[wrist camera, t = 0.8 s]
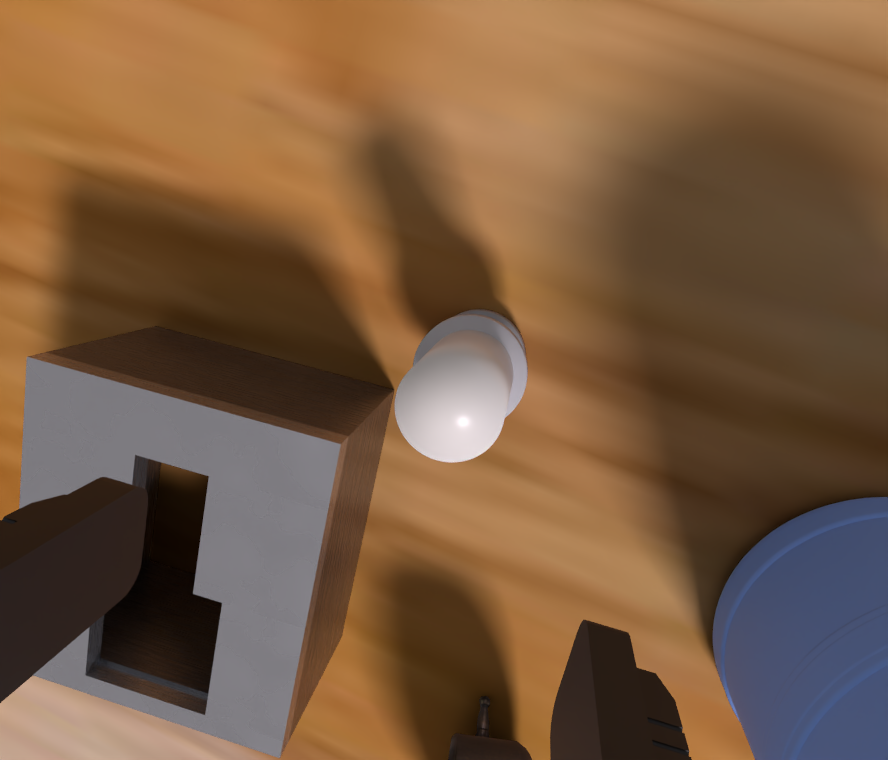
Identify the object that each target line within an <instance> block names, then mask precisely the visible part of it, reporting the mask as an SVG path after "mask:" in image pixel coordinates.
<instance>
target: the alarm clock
mask: <svg viewBox="0 0 888 760" xmlns="http://www.w3.org/2000/svg"><path fill="white" fill-rule="evenodd" d="M479 701H480V706H481V707H480V712H479V715H478V720H477V733H476V735H475V736H472V735H464V734H459V733H455V734H454V735H453V736H452V739H451V744H450V751H449V759H448V760H532V759H531V756H530V754H529V753H528V751H527V750H526V748H524V747H523V746H522V745H521V744H520V743H518V742H517V741H511V740H504V739H496V738H489V716H488V707H489V705H490V699H489V698H488V697H487V696H482V697H481V698H480V699H479Z"/></svg>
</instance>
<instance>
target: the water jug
mask: <svg viewBox="0 0 888 760" xmlns="http://www.w3.org/2000/svg"><path fill="white" fill-rule="evenodd" d="M713 651H714V658H715V663H716V667H717V671H718V674H719V677H720V680H721V682H722V685H723V687H724V690H725V692H726V695H727V698H728V700H729V702H730V705H731V707H732V709H733V711H734V713H735V714H736V716H737V718H738V719H739V721H740V722H741V725H742V727H743V730H744V732H745V735H746V737H747V740H748V742H749V745H750V747H751V750H752V752H753V755H754V758H755V760H888V497H870V498H860V499H853V500H847V501H842V502H838V503H834V504H830V505H826V506H823V507H820V508H817V509H814V510H812V511H809V512H807V513H804V514H802V515H800V516H798V517H796V518H794V519H792V520H790V521H788V522H786V523H784V524H783V525H781V526H779V527H778V528H776V529H775V530H773V531H772V532H771V533H769V534H768V535H767V536H765V537H764V538H763V539H762V540H760V541H759V542H758V543H757V544H756V545H755V546H754V547H753V548H752V549H751V550H750V551H749V552H748V553H747V554H746V555H745V556H744V557H743V558H742V560H741V561H740V562H739V563H738V565H737V566H736V568H735V569H734V571H733V572H732V574H731V575H730V577H729V579H728V580H727V582H726V584H725V586H724V588H723V591H722V593H721V596H720V598H719V601H718V604H717V608H716V612H715V617H714V624H713Z"/></svg>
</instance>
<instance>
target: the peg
mask: <svg viewBox="0 0 888 760" xmlns="http://www.w3.org/2000/svg"><path fill="white" fill-rule="evenodd" d="M527 373H528V367H527V359H526V350H525V344H524V341H523V338H522V336H521V334H520V332H519V331H518V329H517V328H516V326H515V325H514V324H513V323H512V322H511V321H510V320H509V319H507V318H506V317H504V316H503V315H501V314H499V313H497V312H494V311H491V310H486V309H472V310H468V311H464V312H462V313H459V314H457V315H455V316H454V317H451V318H448V319H446V320H444V321H443V322H441V323H440V324H438V325H437V326H435V327H434V328H433V329H432V330H431V331H430V332H429V333H428V334H427V335H426V336H425V337H424V338H423V340H422V341H421V343H420V345H419V347H418V349H417V351H416V354H415V357H414V363H413V367H412V368H411V369H410V370H409V371H408V373H407V374H406V375H405V376H404V378H403V379H402V381H401V383H400V385H399V387H398V390H397V393H396V398H395V415H396V420H397V423H398V426H399V428H400V430H401V432H402V434H403V436H404V437H405V439H406V440H407V441H408V442H409V443H410V445H411V446H412V447H414V448H415V449H416V450H417V451H419V452H420V453H422V454H423V455H425V456H427V457H429V458H432V459H435V460H438V461H443V462H462V461H466V460H470V459H472V458H475V457H477V456H479V455H480V454H482V453H484V452H485V451H486V450H487V449H488V448H490V446H491V445H492V444H493V443H494V442H495V440H496V439H497V438H498V436H499V434H500V432H501V429H502V426H503V423H504V419H505V417H506V416H508V415H509V414H510V413H511V412H512V411H513V410H514V409H515V408H516V406H517V405H518V403H519V402H520V400H521V398H522V396H523V393H524V390H525V387H526V382H527Z"/></svg>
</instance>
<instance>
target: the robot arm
mask: <svg viewBox="0 0 888 760" xmlns="http://www.w3.org/2000/svg"><path fill="white" fill-rule="evenodd" d="M147 509H148V494H147V492H146V490H145V489H144V488H141V487H138V486H135V485H131V484H128V483H125V482H121V481H118V480H114V479H111V478H108V477H100V478H98V479H96V480H94V481H92V482H90V483H88V484H86V485H85V486H83V487H81V488H79V489H77V490H75V491H73V492H71V493H70V494H68V495H65V494H64V495H60V496H56V497H52V498H48V499H44V500H41V501H37V502H33V503H30V504H28V505H26V506H24V507H22V508H20V509H18V510H16V511H14V512H12V513H10V514H8V515H7V516H5V517H4V518H3V520H2V521H1V520H0V703H1V702H2V701H3V700H4V699H5V698H6V697H8V696H9V695H10V694H11V693H12V692H14V691H15V690H16V689H17V688H18V687H19V686H21V685H22V684H23V683H24V682H25V681H26V680H28V679H29V678H30V677H31V676H32V675H34V674H35V673H36V672H37V671H38V670H39V669H41V668H42V667H43V666H44V665H45V664H46V663H48V662H49V661H50V660H51V659H52V658H54V657H55V656H56V655H57V654H58V653H59V652H61V651H62V650H63V649H64V648H65V647H66V646H68V645H69V644H70V643H71V642H72V641H74V640H75V639H76V638H77V637H78V636H79V635H81V634H82V633H83V632H84V631H85V630H86V629H88V628H89V627H90V626H91V625H92V624H94V623H95V622H96V621H97V620H98V619H99V618H101V617H102V616H103V615H104V614H105V613H106V612H108V611H109V610H110V609H111V608H112V607H114V606H115V605H116V604H117V603H118V602H119V601H121V600H122V599H123V598H124V597H125V596H126V595H127V593H128V592H129V591H130V589H131V588H132V586H133V584H134V582H135V581H136V578H137V576H138V573H139V571H140V567H141V561H142V552H143V544H144V535H145V526H146V517H147ZM682 728H683V727H682V724H681V720H680V717H679V713H678V710H677V706H676V702H675V700H674V698H673V697H672V696H671V694H670V693H669V692H668V690H667V689H666V687H665V686H664V685H663V683H662V682H661V680H660V679H659V678H658V676H657V675H656V673H652V672H649V671H646V670H642V669H639V668H637V667H636V662H635V658H634V653H633V648H632V644H631V639H630V635H629V634H628V633H627V632H625V631H621V630H618V629H614V628H611V627H608V626H604V625H601V624H597V623H594V622H591V621H587V620H583V621H582V623H581V625H580V627H579V629H578V632H577V635H576V638H575V641H574V644H573V647H572V650H571V653H570V656H569V659H568V662H567V665H566V668H565V671H564V675H563V678H562V681H561V684H560V687H559V690H558V693H557V696H556V700H555V704H554V709H553V715H552V722H551V733H550V748H551V760H692V759H691V757H689V749H688V745H687V742H686V738H685V734H684V733H682Z"/></svg>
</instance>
